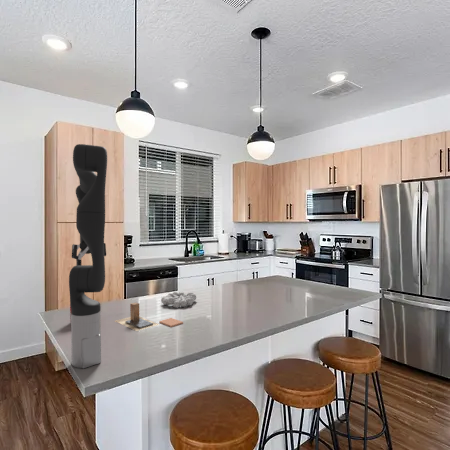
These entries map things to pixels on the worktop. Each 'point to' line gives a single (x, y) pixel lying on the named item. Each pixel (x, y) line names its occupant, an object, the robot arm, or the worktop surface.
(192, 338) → the worktop surface
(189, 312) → the worktop surface
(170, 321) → the tile
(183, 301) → the grey lumpy flat piece
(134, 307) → the wooden post with base
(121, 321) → the board
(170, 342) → the worktop surface
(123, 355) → the worktop surface
